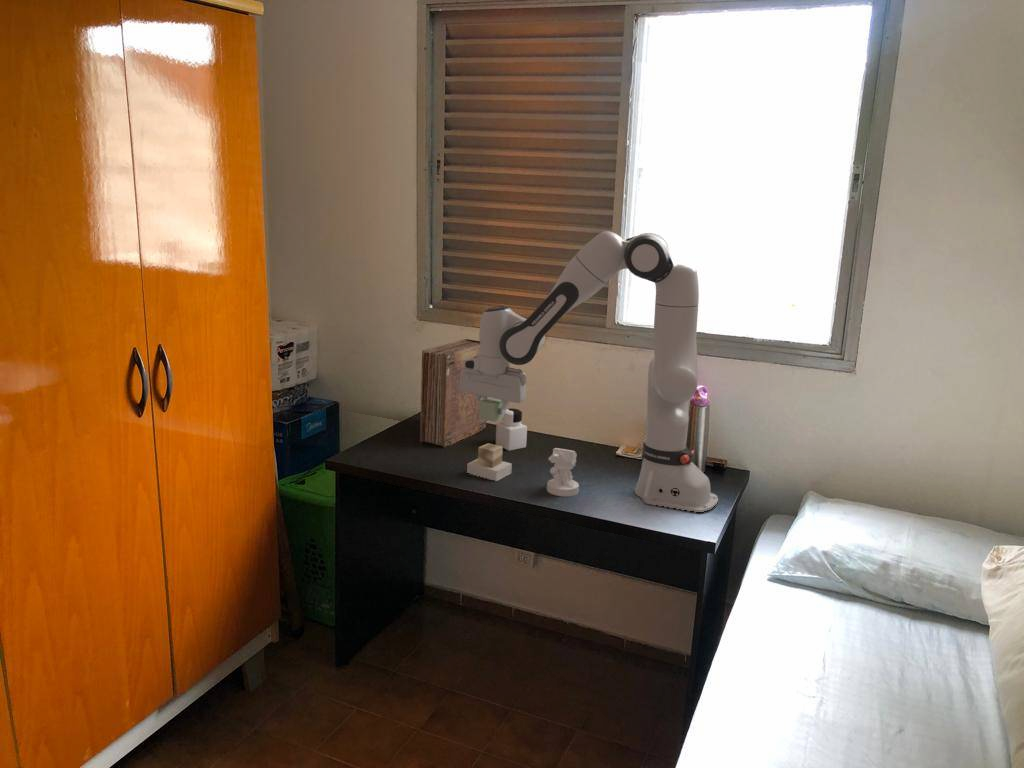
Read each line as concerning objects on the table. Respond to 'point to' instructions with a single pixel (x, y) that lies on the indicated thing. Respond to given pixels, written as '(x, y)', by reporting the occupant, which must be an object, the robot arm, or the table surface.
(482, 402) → the sage cube
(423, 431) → the book
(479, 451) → the maple cube
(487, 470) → the tile slab
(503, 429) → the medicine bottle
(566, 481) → the character figurine
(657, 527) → the table surface
